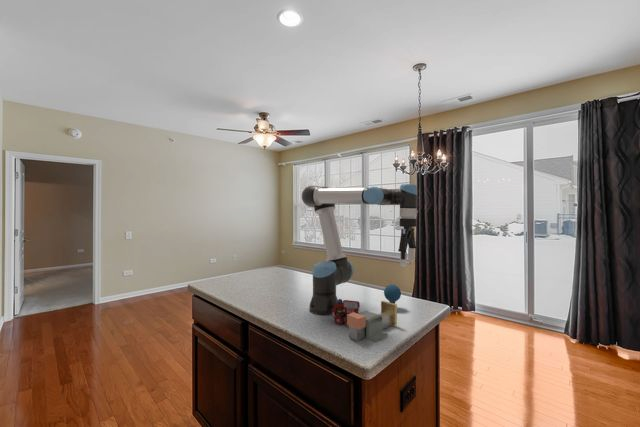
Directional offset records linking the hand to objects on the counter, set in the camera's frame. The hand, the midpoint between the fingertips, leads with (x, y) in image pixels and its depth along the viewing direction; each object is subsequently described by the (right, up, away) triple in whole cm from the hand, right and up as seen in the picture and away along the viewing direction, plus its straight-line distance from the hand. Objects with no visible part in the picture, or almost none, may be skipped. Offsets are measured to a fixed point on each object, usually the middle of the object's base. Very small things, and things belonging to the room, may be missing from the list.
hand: (407, 264), depth 130 cm
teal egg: (-3, -25, +14) cm, 29 cm away
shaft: (-19, -24, -14) cm, 34 cm away
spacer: (-26, -20, -21) cm, 39 cm away
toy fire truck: (-29, -25, -5) cm, 39 cm away
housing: (-21, -25, -16) cm, 36 cm away
